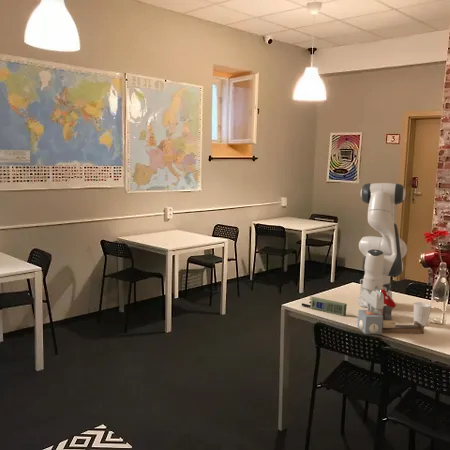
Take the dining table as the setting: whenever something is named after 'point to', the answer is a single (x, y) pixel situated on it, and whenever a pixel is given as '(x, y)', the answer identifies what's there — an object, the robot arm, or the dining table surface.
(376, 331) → the gauge cabinet
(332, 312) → the handheld radio
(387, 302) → the decorative mushroom
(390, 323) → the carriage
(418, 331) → the rail
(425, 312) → the white cup
